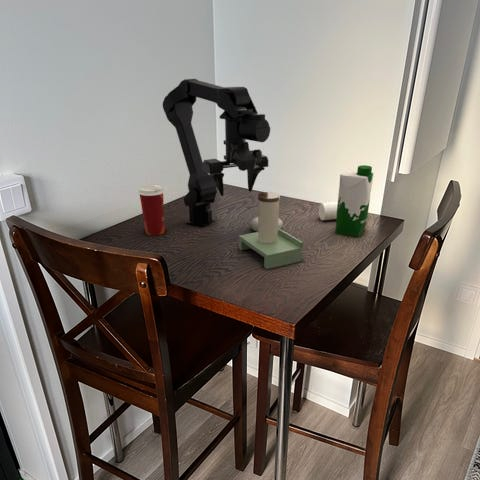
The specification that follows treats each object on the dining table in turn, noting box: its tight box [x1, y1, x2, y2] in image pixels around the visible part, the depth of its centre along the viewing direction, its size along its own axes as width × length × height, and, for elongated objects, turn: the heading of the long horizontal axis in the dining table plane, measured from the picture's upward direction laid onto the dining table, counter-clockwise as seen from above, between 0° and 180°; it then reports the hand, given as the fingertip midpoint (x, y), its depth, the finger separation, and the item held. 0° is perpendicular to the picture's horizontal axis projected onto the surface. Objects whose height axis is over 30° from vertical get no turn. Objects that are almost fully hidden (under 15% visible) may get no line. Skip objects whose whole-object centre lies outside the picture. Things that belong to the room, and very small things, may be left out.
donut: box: [250, 216, 283, 232], centre depth 153 cm, size 10×4×10 cm
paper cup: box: [137, 184, 165, 236], centre depth 148 cm, size 8×8×14 cm
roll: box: [318, 201, 338, 221], centre depth 160 cm, size 6×12×6 cm, turn 100°
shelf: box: [238, 228, 304, 270], centre depth 135 cm, size 16×11×6 cm
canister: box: [257, 191, 281, 244], centre depth 132 cm, size 6×6×12 cm
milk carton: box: [335, 164, 375, 238], centre depth 146 cm, size 9×9×20 cm
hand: (236, 193), depth 142 cm, fingers open, 9 cm apart
